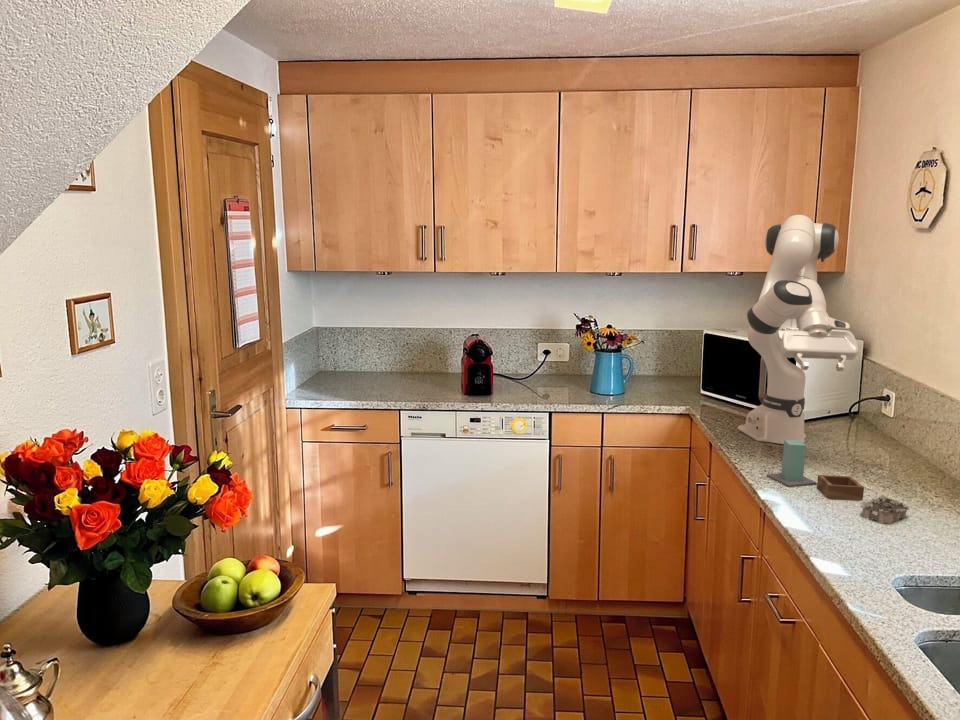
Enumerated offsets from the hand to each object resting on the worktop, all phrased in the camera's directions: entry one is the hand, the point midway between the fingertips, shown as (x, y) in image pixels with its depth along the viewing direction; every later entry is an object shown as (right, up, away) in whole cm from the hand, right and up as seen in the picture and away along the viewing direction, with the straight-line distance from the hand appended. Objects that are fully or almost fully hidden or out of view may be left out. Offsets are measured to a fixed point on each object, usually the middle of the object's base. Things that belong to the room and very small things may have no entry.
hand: (822, 369), depth 209 cm
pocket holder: (-1, -32, -12) cm, 34 cm away
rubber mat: (-10, -30, -2) cm, 32 cm away
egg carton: (+3, -35, -26) cm, 44 cm away
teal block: (-9, -29, -2) cm, 31 cm away
